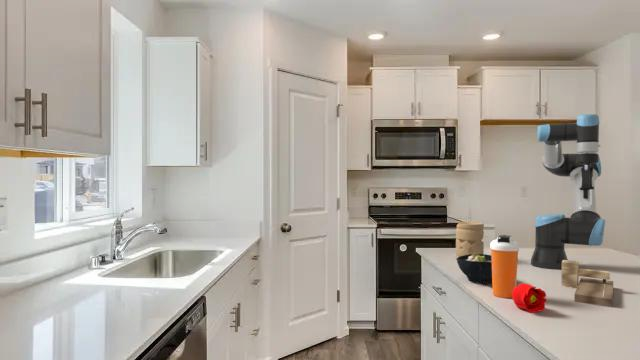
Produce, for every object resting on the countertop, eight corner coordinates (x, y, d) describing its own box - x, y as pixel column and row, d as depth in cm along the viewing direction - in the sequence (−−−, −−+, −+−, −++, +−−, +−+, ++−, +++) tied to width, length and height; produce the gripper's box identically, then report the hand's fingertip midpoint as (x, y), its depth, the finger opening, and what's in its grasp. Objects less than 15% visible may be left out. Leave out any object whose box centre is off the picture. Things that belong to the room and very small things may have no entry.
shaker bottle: (517, 293, 145) (517, 235, 145) (520, 300, 137) (520, 238, 137) (489, 290, 148) (489, 233, 148) (490, 297, 140) (491, 237, 140)
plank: (574, 301, 136) (574, 293, 136) (580, 283, 159) (580, 277, 159) (612, 307, 130) (612, 299, 130) (613, 288, 153) (613, 281, 153)
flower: (532, 287, 133) (551, 293, 125) (523, 310, 132) (542, 318, 124) (512, 278, 132) (530, 283, 124) (503, 301, 131) (521, 308, 123)
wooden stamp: (561, 286, 155) (561, 261, 155) (562, 283, 159) (563, 259, 159) (609, 292, 147) (609, 267, 146) (609, 289, 151) (609, 264, 151)
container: (457, 262, 198) (458, 224, 198) (453, 257, 210) (454, 221, 210) (486, 263, 196) (486, 224, 196) (480, 258, 208) (480, 221, 208)
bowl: (504, 278, 167) (504, 253, 167) (503, 288, 151) (503, 260, 151) (459, 274, 174) (459, 249, 174) (454, 283, 158) (454, 256, 158)
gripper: (596, 151, 158) (596, 208, 158) (600, 154, 178) (599, 204, 178) (573, 152, 162) (573, 207, 162) (579, 154, 182) (578, 203, 182)
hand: (586, 206), depth 170 cm, fingers open, 13 cm apart
